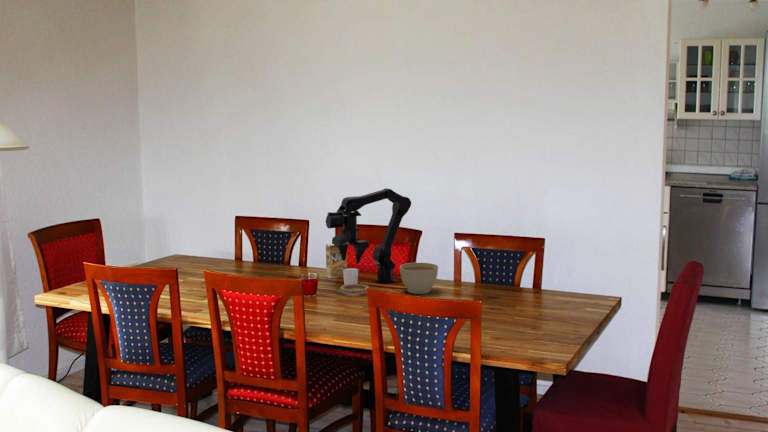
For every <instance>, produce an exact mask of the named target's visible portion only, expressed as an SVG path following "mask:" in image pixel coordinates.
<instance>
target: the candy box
mask: <svg viewBox="0 0 768 432" xmlns="http://www.w3.org/2000/svg"><path fill="white" fill-rule="evenodd" d="M347 256H348V254H346V259H345V261H343V260H342V257H341V254H340V251H339V249H338V248H337V247H336V246H334V244H332V243H329V244H325V268H326V269H325V270H326V271H325V272H326V273H325V274H326V278H327V277H328V278H327V279H337V278H344V277H343V269H347V268H348V263H347V262H348V257H347Z"/></svg>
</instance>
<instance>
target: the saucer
mask: <svg viewBox="0 0 768 432" xmlns="http://www.w3.org/2000/svg"><path fill="white" fill-rule="evenodd" d="M367 288H369V289H370V286H369V285H366V284H362V283H360V284H359V283H357V284H348V285H341V286H340V287H339V289H336V290H334V293H335V294H337V295H342V296H344V297H345V296H346V297H349V298H352V299H353V298H359V297H363V295H364V296H366V295H365V294H366V289H367Z"/></svg>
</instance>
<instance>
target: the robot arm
mask: <svg viewBox="0 0 768 432" xmlns="http://www.w3.org/2000/svg"><path fill="white" fill-rule="evenodd" d="M385 199H387V200H388V201H389V202H391V203H392V207H391V210H392V214H391V217H390V219H389V222H388V225H387V228H386V230H385V233H384V236H383V239H382V240H381V243H380V245H378V246H377V245H375V246H374V249H373V251H372V253H371V255H372V257H371V258H372V261H373V262H374V263H375V265H376V267H378V268H377V273H376V274H377V277H376V278H377V279H375V282H377V283H378V282H379V283H381V284H382V283H383V284H387V283H393V282H396V279H394V269H395V267H396V264H395V262H394V261H392V259H391V257H392V246H393V243H394V241H395V239H396V235H397V233H398V230H399V227H400V224H401V222H402V220H403V217H404V216H405V215H406V214H407V213H408V212H409V210H410V208H411V206H412V201H411V199H410V198H409V197H408V196H404V195H403V196H402V195H401V194H399V193H397V192H396V191H394V190H393V189H391V188H387V187H386V188H383V189H381V190H377V191H374V192H370V193H368V194H363V195H359V196H358V195H357V196H346V197H344V198H342V200H341V203H340V206H339V208H337V210H336V211H335V212H330V211H329V212H327V215H326V219H325V226H326V228H327V229H338V228H339V229H340V228H341V231H340V233H339V234H337V235H335V236H333V237H332V239H331V244H334V246H336V247H337V248H338V249H339V251H340V254H341V257H342V260H343V261H345V259H346V254H347V253H348V248H349V247H348V246H349V245H350V246H352V247H353V249H352V250H353V251H354V253H355V262H356V265H359V264H360V262H361V259H362V258H363V255H364V253H365V252H366V250H368V248H370V242H369V241H368V240H362V239H361V240H360V238H359V237H358V232H359V231H360V229H359V228H358V226H357V225H358V224H357V223H358V220H357V219H358V218H357V217H361V216H362V214H361V213H360V212H359V210H360V209H361V208H363V207H365V206H367V205H369V204H373V203H376V202H379V201H383V200H385ZM342 227H343V228H342ZM347 255H348V254H347Z"/></svg>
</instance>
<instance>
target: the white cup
mask: <svg viewBox="0 0 768 432" xmlns="http://www.w3.org/2000/svg"><path fill="white" fill-rule="evenodd" d="M358 277H359V268H355V267H352V268H351V267H349V268H348V267H347V269H343V277H342V278H343V284H344V285H348V284H358V280H359V278H358Z"/></svg>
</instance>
